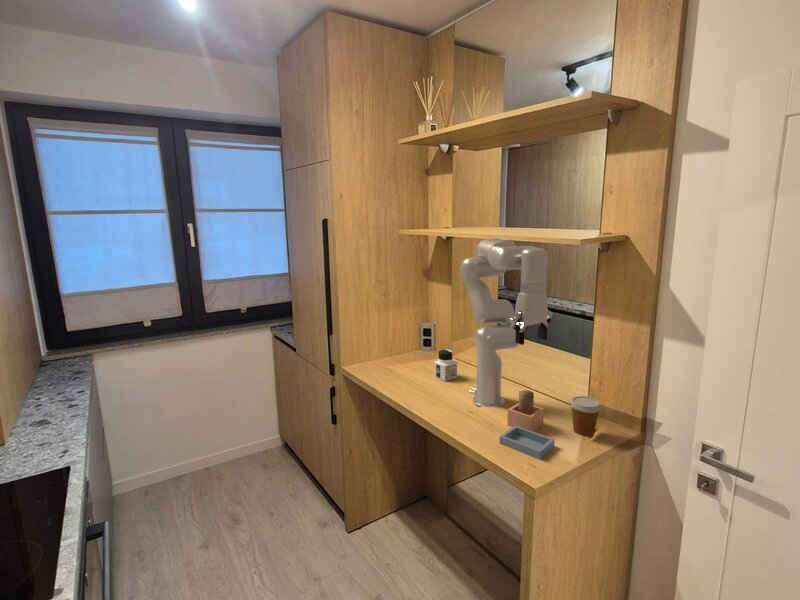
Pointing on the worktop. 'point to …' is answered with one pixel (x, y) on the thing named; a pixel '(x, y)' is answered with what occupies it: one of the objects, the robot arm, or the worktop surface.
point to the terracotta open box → (525, 418)
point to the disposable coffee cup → (585, 415)
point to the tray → (527, 442)
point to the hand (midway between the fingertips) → (531, 341)
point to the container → (445, 366)
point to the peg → (526, 402)
